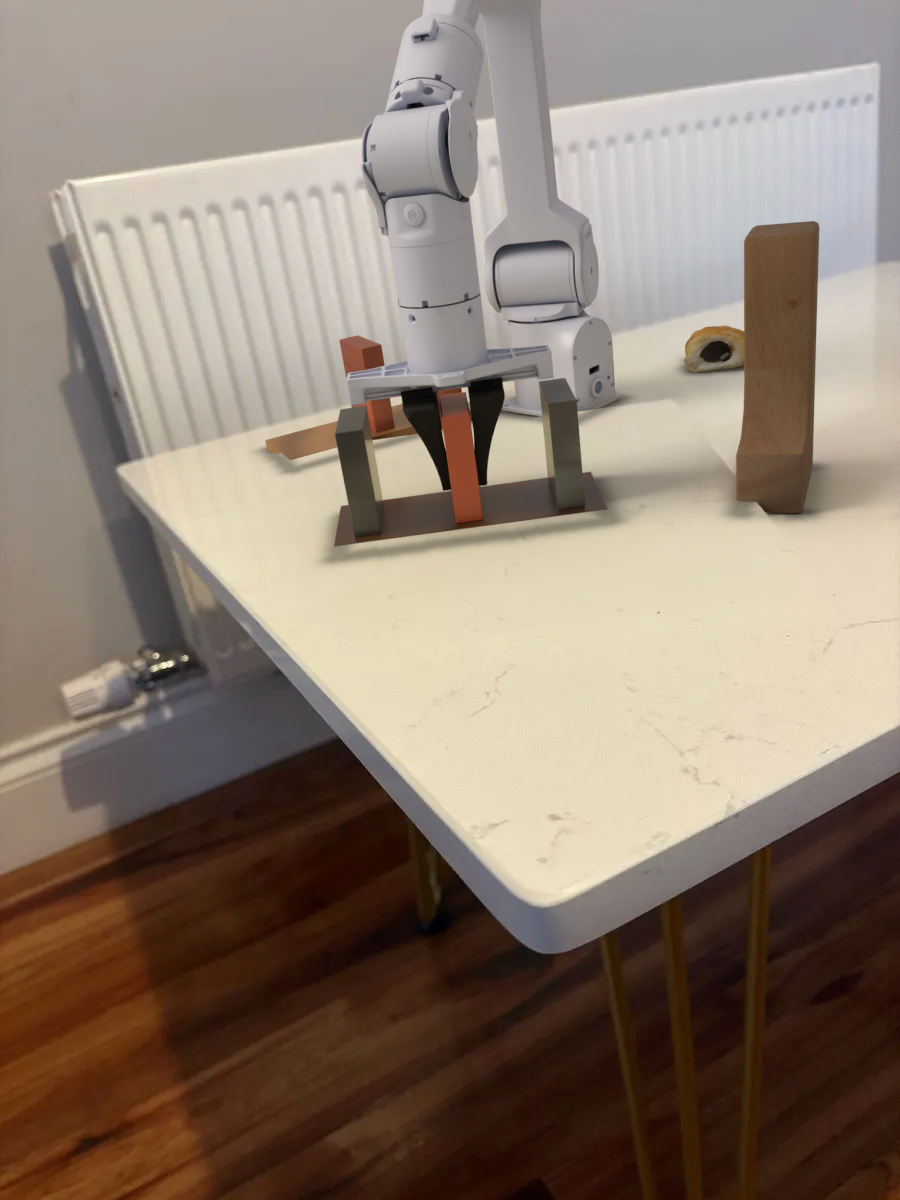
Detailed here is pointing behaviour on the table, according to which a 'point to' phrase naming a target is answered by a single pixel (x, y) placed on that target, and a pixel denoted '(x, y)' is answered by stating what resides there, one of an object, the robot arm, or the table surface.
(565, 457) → the grey book stand
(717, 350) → the pastry
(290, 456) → the book rack
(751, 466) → the wooden block
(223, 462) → the table surface
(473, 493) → the terracotta book
